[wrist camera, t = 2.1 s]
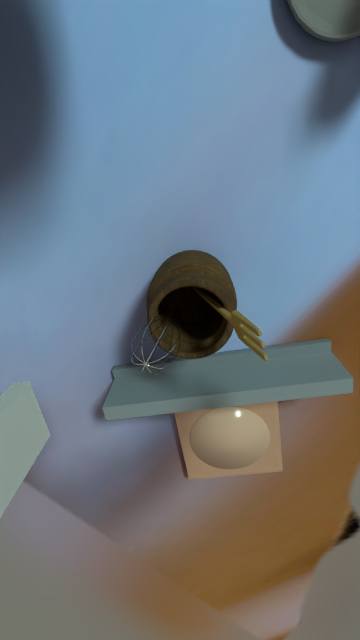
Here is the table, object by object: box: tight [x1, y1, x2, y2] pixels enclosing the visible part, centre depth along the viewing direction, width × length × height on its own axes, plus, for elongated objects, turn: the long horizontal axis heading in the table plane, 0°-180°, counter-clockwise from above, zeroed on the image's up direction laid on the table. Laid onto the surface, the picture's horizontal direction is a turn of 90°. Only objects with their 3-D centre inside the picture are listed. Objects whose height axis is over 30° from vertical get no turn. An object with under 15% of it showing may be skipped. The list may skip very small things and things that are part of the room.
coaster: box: [174, 401, 283, 479], centre depth 30 cm, size 9×9×1 cm
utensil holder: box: [131, 250, 268, 375], centre depth 19 cm, size 6×6×12 cm
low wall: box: [102, 338, 353, 421], centre depth 25 cm, size 3×18×4 cm, turn 100°
